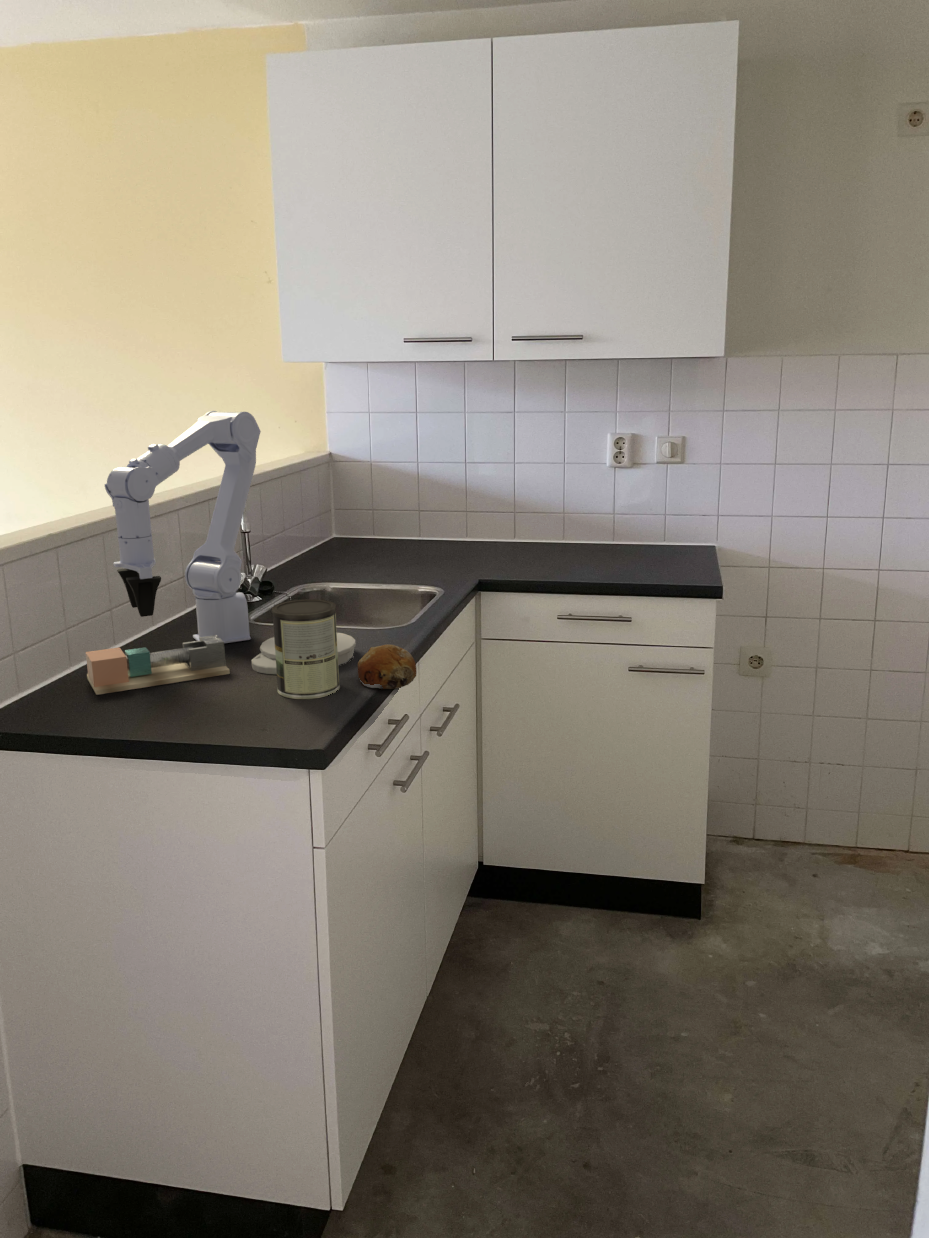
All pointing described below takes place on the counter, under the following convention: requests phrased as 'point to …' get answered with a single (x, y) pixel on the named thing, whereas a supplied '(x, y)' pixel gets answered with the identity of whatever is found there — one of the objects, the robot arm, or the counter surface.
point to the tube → (153, 659)
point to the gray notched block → (205, 653)
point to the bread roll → (387, 667)
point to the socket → (107, 667)
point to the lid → (268, 658)
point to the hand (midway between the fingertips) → (142, 611)
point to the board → (161, 677)
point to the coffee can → (306, 648)
